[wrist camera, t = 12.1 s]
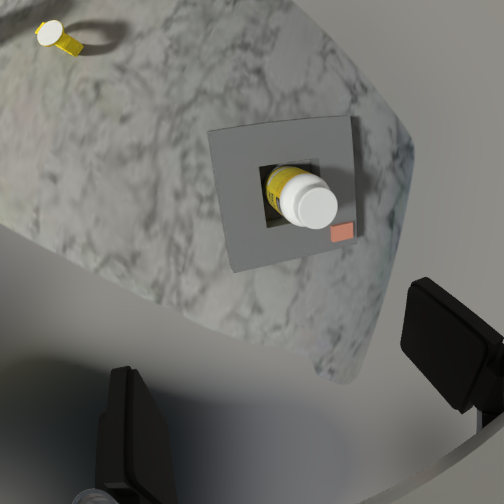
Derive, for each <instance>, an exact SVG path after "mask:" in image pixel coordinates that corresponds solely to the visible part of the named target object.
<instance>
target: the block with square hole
mask: <svg viewBox="0 0 504 504" xmlns="http://www.w3.org/2000/svg"><path fill="white" fill-rule="evenodd" d="M207 134H208V141H209V147H210V153H211V159H212V165H213V171H214V177H215V183H216V189H217V195H218V201H219V206H220V212H221V218H222V223H223V229H224V235H225V240H226V246H227V251H228V257H229V262H230V266H231V268H232V271H233V273H237V272H241V271H245V270H250V269H254V268H258V267H262V266H267V265H271V264H275V263H279V262H284V261H288V260H292V259H296V258H301V257H305V256H309V255H313V254H317V253H321V252H325V251H330V250H334V249H338V248H342V247H346V246H350V245H354V244H357V229H356V193H355V172H354V156H353V143H352V131H351V120H350V116H329V117H315V118H303V119H293V120H283V121H275V122H266V123H259V124H251V125H244V126H237V127H231V128H224V129H218V130H212V131H207ZM306 159H311V170H312V174H314V175H316V176H318V177H320V178H321V179H323V180H324V181H325V182H326V184H327V185H328V187H329V189H330V191H331V192H332V193H333V194H334V195H335V197H336V199H337V203H338V209H337V213H336V216H335V218H334V219H333V221H332V222H331V223H330V224H329V225H327V226H326V227H324V228H321V229H311V228H308V227H300V226H296V225H294V224H292V223H291V222H289V221H288V220H287V219H286V218H284V217H283V218H278V219H273V220H268V221H266V219H265V211H264V204H263V196H262V188H261V181H260V173H259V167H260V166H266V165H272V164H279V163H285V162H292V161H299V160H306Z"/></svg>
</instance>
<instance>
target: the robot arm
mask: <svg viewBox="0 0 504 504" xmlns="http://www.w3.org/2000/svg"><path fill="white" fill-rule="evenodd" d="M503 339H504V337H503V336H502V335H500V334H499V333H498V332H497V331H495V329H493V328H492V327H491V326H490V325H488V324H487V323H486V322H485V321H484V320H482V319H481V318H480V317H479V316H477V315H476V314H475V313H474V312H472V311H471V310H470V309H469V308H467V307H466V306H465V305H463V304H462V303H461V302H460V301H458V300H457V299H456V298H455V297H453V296H452V295H450V294H449V293H448V292H447V291H445V290H444V289H443V288H442V287H440V286H439V285H438V284H436V283H435V282H434V281H432V280H431V279H430V278H428V277H424V278H421V279H419V280H416V281H414V282H412V283H411V286H410V287H409V289H408V294H407V303H406V310H405V317H404V323H403V330H402V337H401V342H400V345H401V349H402V351H403V352H404V353H405V354H406V356H407V357H408V358H409V359H410V360H411V361H412V362H413V363H414V364H415V366H416V367H417V368H418V369H419V370H420V371H421V372H422V373H423V374H424V376H425V377H426V378H427V379H428V380H429V381H430V382H431V384H432V385H433V386H434V387H435V388H436V389H437V390H438V392H439V393H440V394H441V395H442V396H443V397H444V398H445V400H446V401H447V402H448V403H449V404H450V405H451V407H452V408H454V409H456V410H459V412H460V413H461V414H463V413H465V412H466V411H468V410H469V409H470V408H472V407H473V405H474V406H475V407H476V408H477V430H476V432H477V433H476V434H475V435H474V436H472V437H471V438H470V439H468V440H467V441H466V442H464V443H463V444H461V445H460V446H459V447H457V448H456V449H454V450H453V451H451V452H450V453H448V454H447V455H445V456H444V457H442V458H441V459H439V460H437V461H436V462H434V463H433V464H431V465H430V466H428V467H426V468H425V469H423V470H421V471H420V472H418V473H416V474H414V475H413V476H411V477H409V478H408V479H406V480H404V481H402V482H400V483H398V484H396V485H395V486H393V487H391V488H389V489H387V490H385V491H383V492H381V493H379V494H377V495H375V496H373V497H371V498H368V499H367V500H364V501H362V502H360V503H357V504H504V344H503V343H502V342H503ZM72 504H178V501H177V495H176V487H175V480H174V474H173V465H172V457H171V449H170V440H169V429H168V424H167V421H166V419H165V417H164V415H163V414H162V412H161V411H160V409H159V407H158V405H157V404H156V402H155V400H154V399H153V397H152V395H151V393H150V392H149V390H148V388H147V386H146V385H145V383H144V381H143V379H142V377H141V376H140V374H139V372H138V371H137V370H136V369H134V370H132V369H131V367H130V366H125V367H120V368H115V369H112V370H111V375H110V384H109V392H108V403H107V411H105V412H102V413H101V414H100V417H99V425H98V437H97V450H96V468H95V489H89V490H85V491H83V492H81V493H80V494H79V495H78V496H77V497H76V498H75V500H74V501H73V503H72Z"/></svg>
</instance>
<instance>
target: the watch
mask: <svg viewBox="0 0 504 504" xmlns="http://www.w3.org/2000/svg"><path fill="white" fill-rule="evenodd" d="M35 33H36V34H37V35H38V36H37V37H38V42H39V43H40V44H41V45H43V46H46V47H50V46H53V45H56V46H57V47H59V48H61V49H62V50H64V51H66V52H68V53H69V54H71V55H73V56H74V57H77V55H78V54H79V53H80V51H81V50H82V49H83V47H84V46H83V45H82V44H81V43H79V42H78V41H76V40H75V39H74V38H72V37H70V36H69V35H67V34H66V33H64V26H63V24H62V23H61V22H60V21H57V20H51V21H48V22H47V23H45V22H42V24H41V25H40V26H39V28H38V29H37V30H36V32H35Z"/></svg>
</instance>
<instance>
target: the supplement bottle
mask: <svg viewBox="0 0 504 504" xmlns="http://www.w3.org/2000/svg"><path fill="white" fill-rule="evenodd" d="M263 191H264V195H265V198H266V200H267V201H268V203H269V204H270V205H271V206H272V207H273V208H275V209H276V210H277V211H278V212H279V213H280V214H281V215H282V216H283V217H284V218H286V219H287V220H288V221H289V222H291V223H292V224H294V225H296V226H300V227H308V228H311V229H321V228H324V227H326V226H327V225H329V224H330V223H331V222H332V221H333V219H334V218H335V216H336V213H337V209H338V203H337V199H336V197H335V195H334V194H333V193H332V192H331V191H330V189H329V187H328V185H327V184H326V182H325V181H324V180H323V179H321V178H320V177H318V176H316V175H314V174H312V173H309V172H307V171H305V170H302V169H300V168H297V167H295V166H291V165H282V166H278V167H276V168H274V169H273V170H272V171H271V172H270V173H269V174H268V175H267V177H266V179H265V181H264V186H263Z"/></svg>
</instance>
